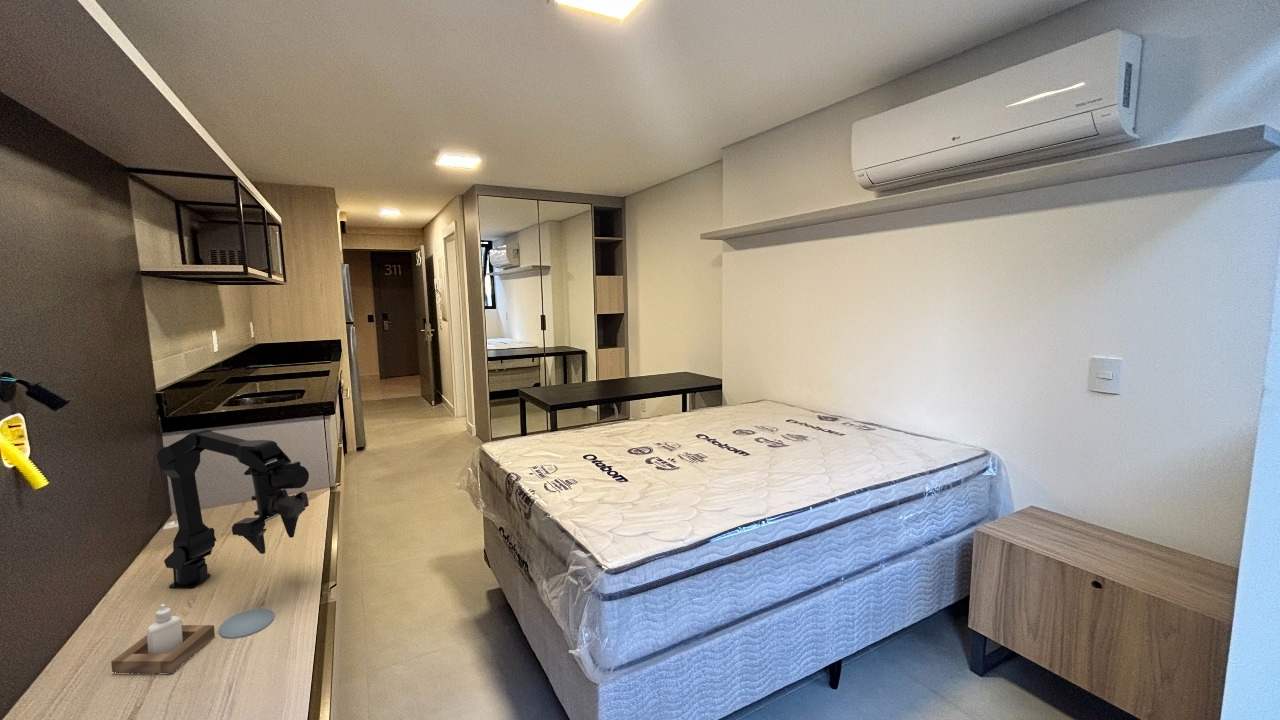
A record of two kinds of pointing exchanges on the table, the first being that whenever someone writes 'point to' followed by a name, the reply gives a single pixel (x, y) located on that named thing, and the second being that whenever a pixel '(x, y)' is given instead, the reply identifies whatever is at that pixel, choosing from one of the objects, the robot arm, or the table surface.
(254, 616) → the slate-blue rubber mat
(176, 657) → the walnut socket block
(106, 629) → the table surface
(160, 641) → the eye dropper bottle
